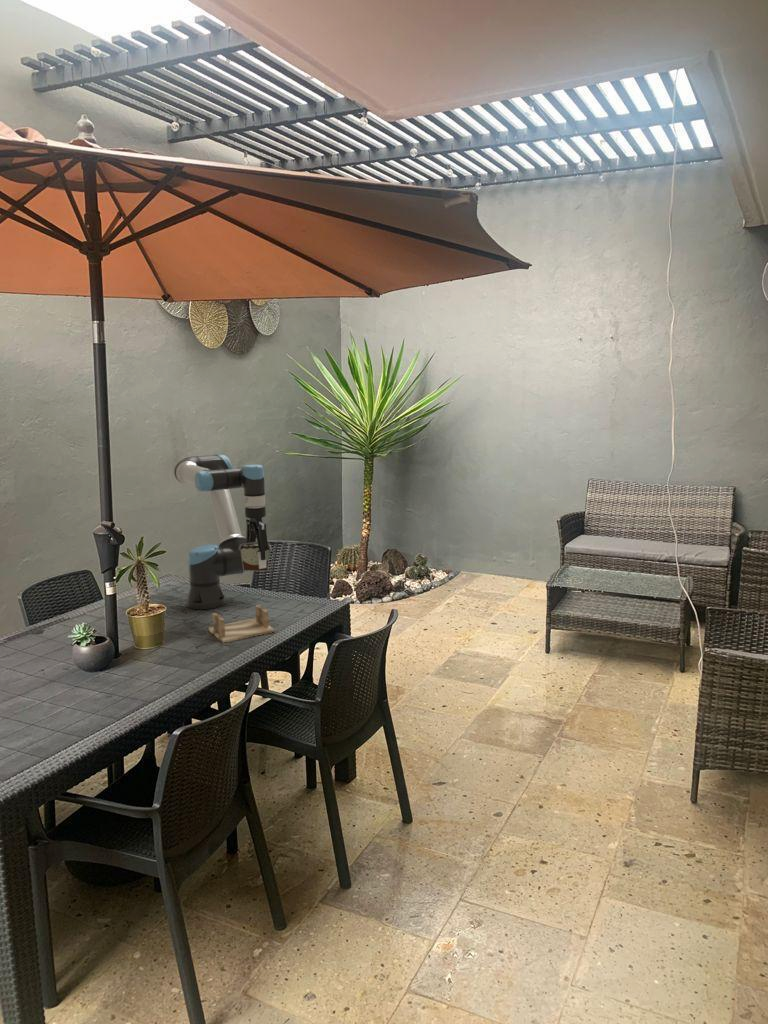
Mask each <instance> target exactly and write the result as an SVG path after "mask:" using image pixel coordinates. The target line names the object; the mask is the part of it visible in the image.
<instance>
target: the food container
mask: <svg viewBox="0 0 768 1024" xmlns="http://www.w3.org/2000/svg"><path fill="white" fill-rule="evenodd" d="M263 548H264V547H263ZM239 550H241V557H242V564H243V571H250V572H269V567H270V554H271V553H270V551H272V550H273V549H272V545H271V543H270V542H268V550H266V568H262V569H259V560H258V552H257V551H258V550H259V547H258V542H257V541H256V542H249V543H243V544H240V546H239Z"/></svg>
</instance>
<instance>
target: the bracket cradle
mask: <svg viewBox="0 0 768 1024" xmlns="http://www.w3.org/2000/svg"><path fill="white" fill-rule="evenodd" d="M269 621H270V620H269V610H268V609H266V608H265V607H263V606H261V605H260V604H257V605H255V617H254V618H250V619H244V620H238V621H233V622H230V623H229V622H228V623H225V619H224V618H223V617H222V616H220V615H219V614H218V613H217V612H212V626H208V627H207V631H209V632H210V633H211V634H212V635H213V634H214V636H215V638H217V639H218V640H219V641H220V642H222V644H226V643H229V642H235V641H239V639H240V640H244V638H245V639H249V637H250V638H254V637H253V636H255V637H259V636H258V635H260V636H264V635H269V634H273V633H272V632H274V633H276V629H275V628H273V627H272V626H271V625H270V624H269V623H270V622H269ZM268 633H269V634H268ZM263 634H264V635H263ZM225 642H226V643H225Z"/></svg>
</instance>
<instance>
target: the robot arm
mask: <svg viewBox="0 0 768 1024" xmlns="http://www.w3.org/2000/svg"><path fill="white" fill-rule="evenodd" d="M173 474H174V477H175V479H176V480H177V481H178V482H179V483H180V484H183V485H194V486H195V489H196V490H197V491H198V492H208V493H209V494H208V496H209V499H210V503H211V506H212V511H213V513H214V515H213V516H214V519H215V522H216V526H217V529H218V533H219V538H220V543H219V544H218V545H217V544H214V543H210V544H204V545H203V544H201V545H199V546H196V547H194V548H192V549H190V550H189V551H188V553H187V554H188V556H187V559H188V561H187V564H188V575H189V589H188V590H189V591H188V594H187V598H186V607H187V608H189V609H192V610H210V609H215V608H219V607H221V606H223V605H225V604H226V595H225V593H224V591H223V588H222V585H221V579H220V578H221V577H226V576H234V575H240V574H241V575H242V574H246V573H250V572H251V571H243V564H242V557H241V550H239V546H240V544H243V543H249V542H258V547H259V550H258V551H257V552H258V560H259V569H262V568H266V550H268V543H269V541H268V535H267V524H266V523H263V518H266V516H267V514H266V513H267V512H266V510H267V509H266V507H265V505H266V494H265V492H266V491H265V489H266V488H265V470H264V467H263V465H261V464H246V465H244V466H238V467H235V468H233V464H232V462H231V460H230V459H229V457H228V456H227V455H224V454H211V455H197V456H194V455H193V456H188V457H187V456H186V457H185V458H182V459H180V461H178V462H177V463H176V465H175V467H174V470H173ZM233 489H234V490H235V489H243V495H244V498H243V502H244V506H245V507H244V511H245V513H244V515H245V518H246V519H245V522H246V537H245V536H243V535H242V532H241V527H240V524H239V519H238V516H237V513H236V512H237V511H236V509H235V506H234V501H233V498H232V495H231V491H230V490H233ZM263 547H264V548H263Z"/></svg>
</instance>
